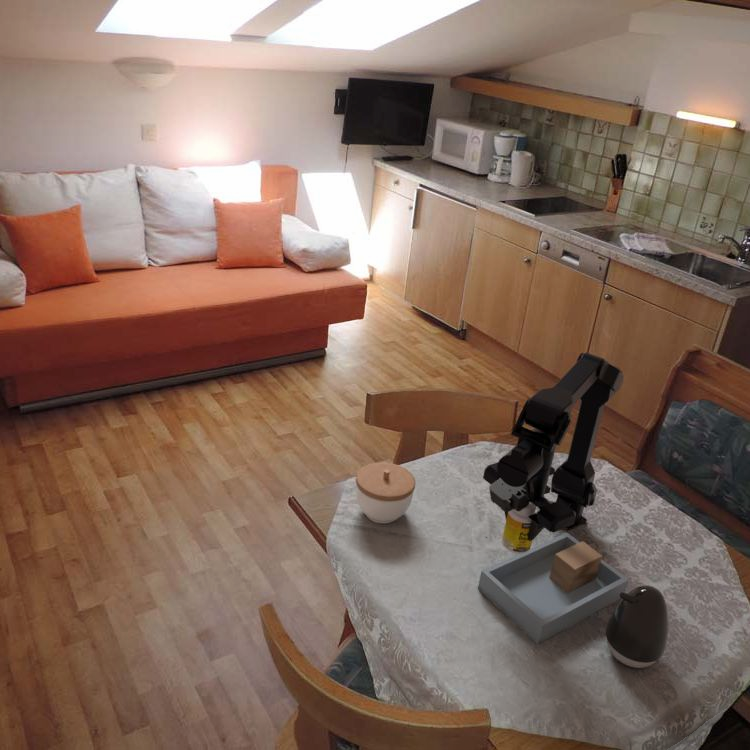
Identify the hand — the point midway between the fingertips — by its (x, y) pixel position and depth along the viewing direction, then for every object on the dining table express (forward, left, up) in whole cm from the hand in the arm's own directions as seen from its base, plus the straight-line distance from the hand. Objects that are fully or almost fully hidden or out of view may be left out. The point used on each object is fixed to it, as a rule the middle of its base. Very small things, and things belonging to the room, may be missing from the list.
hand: (519, 530), depth 142 cm
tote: (-6, +6, -13) cm, 16 cm away
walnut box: (-12, +6, -12) cm, 18 cm away
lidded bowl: (+9, -30, -13) cm, 34 cm away
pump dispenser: (-7, +24, -13) cm, 28 cm away
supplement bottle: (0, 0, -4) cm, 4 cm away
